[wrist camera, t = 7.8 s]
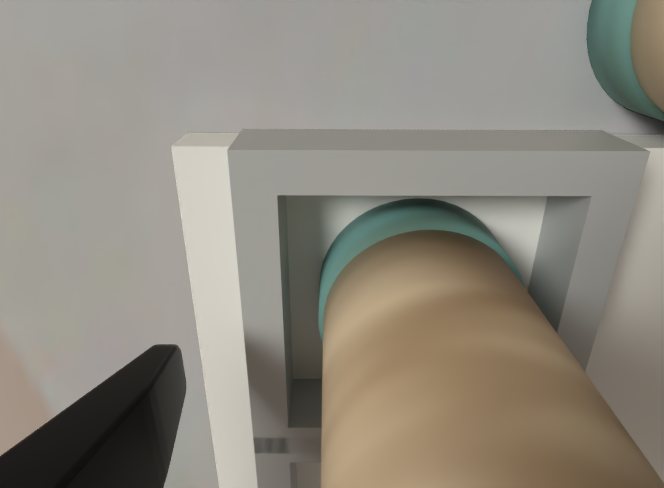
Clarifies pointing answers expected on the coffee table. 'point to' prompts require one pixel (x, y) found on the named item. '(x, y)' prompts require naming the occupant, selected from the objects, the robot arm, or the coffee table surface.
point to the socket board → (396, 184)
